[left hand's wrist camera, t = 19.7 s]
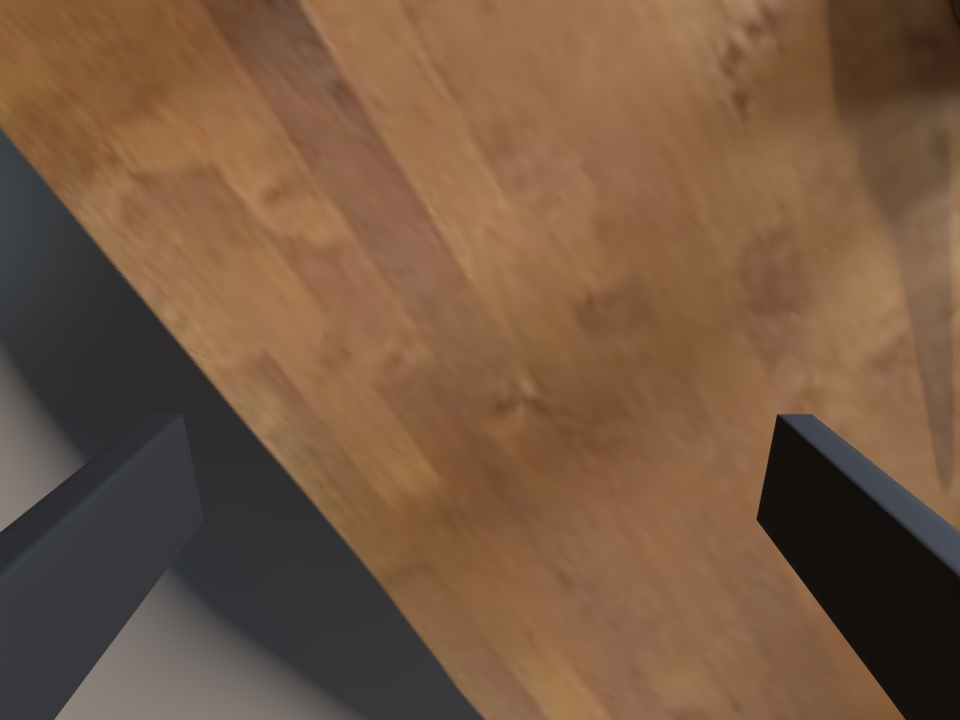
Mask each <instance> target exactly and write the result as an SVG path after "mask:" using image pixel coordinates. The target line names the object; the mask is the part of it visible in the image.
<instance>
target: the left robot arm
mask: <svg viewBox="0 0 960 720" xmlns="http://www.w3.org/2000/svg"><path fill="white" fill-rule="evenodd" d="M952 4H953V7H954V10H955V13H956V16H957V18H958V20H959V22H960V0H952ZM202 521H203V515H202V510H201V505H200V500H199V495H198V490H197V484H196V479H195V474H194V469H193V464H192V459H191V454H190V449H189V444H188V439H187V434H186V429H185V423H184V419H183V415H182V414H148V415H147V416H145V417H144V418H143V419H142V420H140V421H139V422H138V423H137V424H135V425H134V426H133V427H132V428H130V429H129V430H128V431H127V432H125V433H124V434H123V435H122V436H120V437H119V438H118V439H117V440H115V441H114V442H113V443H112V444H110V445H109V446H108V447H107V448H105V449H104V450H103V451H102V452H100V453H99V454H98V455H97V456H95V457H94V458H93V459H92V460H90V461H89V462H88V463H87V464H85V465H84V466H83V467H82V468H80V469H79V470H78V471H77V472H75V473H74V474H73V475H72V476H70V477H69V478H68V479H67V480H65V481H64V482H63V483H62V484H60V485H59V486H58V487H57V488H55V489H54V490H53V491H52V492H50V493H49V494H48V495H46V496H45V497H44V498H43V499H42V500H40V501H39V502H38V503H36V504H35V505H34V506H33V507H31V508H30V509H29V510H28V511H27V512H25V513H24V514H23V515H22V516H20V517H19V518H18V519H16V520H15V521H14V522H13V523H11V524H10V525H9V526H8V527H6V528H5V529H4V530H3V531H1V532H0V720H54V719H55V718H56V716H57V715H58V714H59V712H60V711H61V710H62V708H63V707H64V706H65V704H66V703H67V702H68V700H69V699H70V698H71V696H72V695H73V694H74V692H75V691H76V690H77V688H78V687H79V686H80V684H81V683H82V682H83V680H84V679H85V678H86V676H87V675H88V674H89V672H90V671H91V670H92V668H93V667H94V666H95V664H96V663H97V662H98V660H99V659H100V658H101V656H102V655H103V654H104V652H105V651H106V650H107V648H108V647H109V646H110V644H111V643H112V641H113V640H114V639H115V637H116V636H117V635H118V633H119V632H120V631H121V629H122V628H123V627H124V625H125V624H126V623H127V621H128V620H129V619H130V617H131V616H132V615H133V613H134V612H135V611H136V609H137V608H138V607H139V605H140V604H141V603H142V601H143V600H144V599H145V597H146V596H147V595H148V593H149V592H150V591H151V589H152V588H153V586H154V585H155V584H156V583H157V581H158V580H159V579H160V577H161V576H162V574H163V573H164V572H165V571H166V569H167V568H168V566H169V565H170V564H171V562H172V561H173V560H174V558H175V557H176V556H177V554H178V553H179V552H180V550H181V549H182V548H183V546H184V545H185V544H186V542H187V541H188V540H189V538H190V537H191V536H192V534H193V533H194V532H195V530H196V529H197V528H198V526H199V525H200V524H201V522H202ZM757 521H758V522H759V524H760V525H761V526H762V528H763V529H764V530H765V532H766V533H767V534H768V536H769V537H770V538H771V540H772V541H773V542H774V544H775V545H776V546H777V548H778V549H779V550H780V552H781V553H782V554H783V556H784V557H785V558H786V560H787V561H788V562H789V564H790V565H791V567H792V568H793V569H794V571H795V572H796V573H797V575H798V576H799V577H800V579H801V580H802V581H803V583H804V584H805V585H806V587H807V588H808V589H809V591H810V592H811V593H812V595H813V596H814V597H815V599H816V600H817V601H818V603H819V604H820V605H821V607H822V608H823V609H824V611H825V612H826V613H827V615H828V616H829V617H830V619H831V620H832V621H833V623H834V624H835V625H836V627H837V628H838V629H839V631H840V632H841V633H842V635H843V636H844V637H845V639H846V640H847V642H848V643H849V644H850V646H851V647H852V648H853V650H854V651H855V652H856V654H857V655H858V656H859V658H860V659H861V660H862V662H863V663H864V664H865V666H866V667H867V668H868V670H869V671H870V672H871V674H872V675H873V676H874V678H875V679H876V680H877V682H878V683H879V684H880V686H881V687H882V688H883V690H884V691H885V692H886V694H887V695H888V696H889V698H890V699H891V700H892V702H893V703H894V704H895V706H896V707H897V708H898V710H899V711H900V712H901V714H902V715H903V717H904V718H905V719H906V720H960V532H959V531H957V530H956V529H955V528H954V527H952V526H951V525H950V524H949V523H947V522H946V521H945V520H944V519H942V518H941V517H940V516H939V515H937V514H936V513H935V512H934V511H932V510H931V509H930V508H929V507H927V506H926V505H925V504H924V503H922V502H921V501H920V500H919V499H917V498H916V497H915V496H913V495H912V494H911V493H910V492H908V491H907V490H906V489H905V488H903V487H902V486H901V485H900V484H898V483H897V482H896V481H895V480H893V479H892V478H891V477H890V476H888V475H887V474H886V473H885V472H883V471H882V470H881V469H880V468H878V467H877V466H876V465H875V464H873V463H872V462H871V461H870V460H868V459H867V458H866V457H865V456H863V455H862V454H861V453H860V452H858V451H857V450H856V449H855V448H853V447H852V446H851V445H850V444H848V443H847V442H846V441H845V440H843V439H842V438H841V437H840V436H838V435H837V434H836V433H835V432H833V431H832V430H831V429H830V428H828V427H827V426H826V425H825V424H823V423H822V422H821V421H820V420H818V419H817V418H816V417H815V416H813V415H812V414H777V418H776V423H775V428H774V434H773V439H772V444H771V449H770V454H769V459H768V464H767V469H766V474H765V479H764V484H763V489H762V494H761V500H760V505H759V510H758V515H757Z"/></svg>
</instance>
